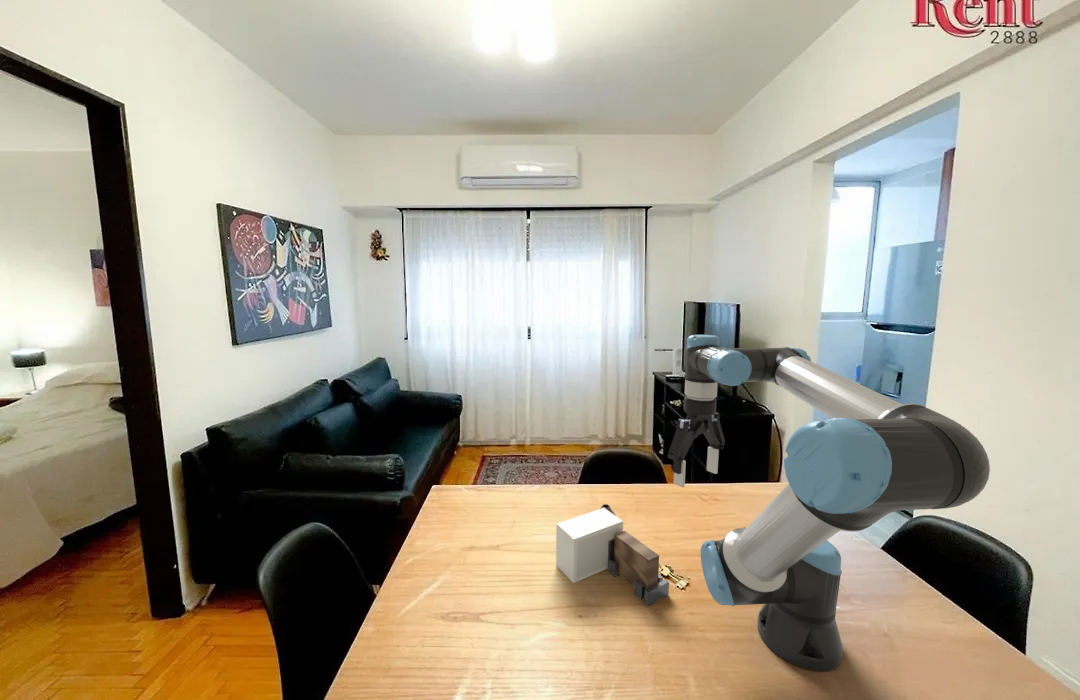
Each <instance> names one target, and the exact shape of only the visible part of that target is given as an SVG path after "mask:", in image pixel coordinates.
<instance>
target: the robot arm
mask: <svg viewBox="0 0 1080 700" xmlns="http://www.w3.org/2000/svg"><path fill="white" fill-rule="evenodd" d="M686 339H687V340H686V348H685V371H684V372H685V377H684V380H685V381H684V395H685V397H684V399H683V411H684V412H685V413H686V419H682V418H678V420H677V422H676V423H677V424H676V426H677V427H676V429H675V432H674V435H673V438H672V442H671V443H670V444H671V445H670V447H669V449H668V450H669V451H668V452H667V453H668V454H667V458H668V459H671V460H673V467H672V468H673V469H672V470H673V484H674V485H676V486H679V487H681V488H685V487H686V486H685V484H686V466H687V465H686V463H687V462H686V460H685V458H686V456H687V455H688V452H689V449H690V448H691V446H692V445H693V441H694V440H695V439H697V438H698V436H700V435H702V434H703V436H704V437H705V440H706V441H707V443H708V444H709V446H708V447H707V455H706V456H707V458H706V471H707V472H710V473H712V474H715V475H716V474H718V470H719V469H718V468H719V455H720V453H719V452H720V450H724V447H725V446H724V445H725V443H726V440H725V436H724V433H723V428H722V425H721V422H720V413H719V412H717V400H716V398H717V397H718V384H721V385H724V386H725V385H726V386H731V387H735V386H739V385H741V384H743V383H755V382H756V383H765V382H766V383H768V382H769V383H773V384H775V385H777V386H778V387H780V388H782V389H783V390H785V391H787V392H789V393H790V394H792V395H794V396H795V397H796V398H798V399H800V400H802V401H803V402H805V403H806V404H807V405H809V406H810V407H812V408H814V409H816V410H818V411H819V412H821V413H822V414H823V415H826V416H827V417H828V418H829V419H827V418H826V419H822V420H814V421H810V422H807V423H805V424H803V425H802V426H800V427H798V428H797V429H796V430H795V431H794V432H793V433H792V435H791V436H790V438H789V439H788V441H787V444H786V446H785V449H784V452H785V453H786V454H787V457H784V458H783V467H784V471H785V472H784V473H785V477H786V480H787V483H788V484H787V485H785V487H784V488H782V490H781V491H780V492H779V493H778V494H777V495H776V496H775V497H774V498H773V499H772V500H771V501H770V503H769V504H768V505H767V506H766V507H765V508H764V509H763V510H762V511H761V512H760V513H759V514H758V515H757V516H756V518H754V519H753V520H752V522H751V523H750V524H749V525H748V526H747V527H745V526H744V527H742V526H741V527H737V528H735V529H733V530H731V531H730V532H728V534H727V535H726V536H725V537H724V538H723V539H719V540H714V539H710V540H705V541H704V542H703V543H702V544H701V547H700V563H701V569H702V573H703V577H704V581H705V584H706V587H707V589H708V591H709V593H710V595H711V597H712V599H713V600H714V601H715V602H716V603H717V604H719V605H721V606H731V607H735V606H746V605H747V606H751V605H762V606H761V609H760V610H759V611H758V615H757V616H758V617H757V623H756V624H757V630H758V633H759V636H760V638H761V639H762V641H763V642H764V643H765V645H766V646H767V647H768V648H769V649H770V650H771V651H772V652H774V654H776V655H777V656H779V657H780V658H782V659H783V660H785V661H787V662H788V663H790V664H792V665H794V666H796V667H798V668H801V669H806V670H809V671H813V672H828V671H832V670H835V669H836V668H838V667H839V666H840V664H841V663H842V658H843V648H844V647H843V643H842V639H841V636H840V631H839V628H838V624H837V620H836V613H837V605H838V597H839V591H840V589H839V588H840V583H841V575H842V574H843V573H842V572H843V571H842V557H841V553H840V551H839V550H838V549H837V547H835V544H833V543H831V542H830V541H829V539H831V538H832V537H834V536H835V535H836V534H837V533H839V532H841V531H844V532H852V533H853V532H861V531H864V530H865V529H868V528H870V527H871V526H872V525H874V524H875V523H877V522H878V521H880V520H881V519H883V518H884V517H886V516H887V515H889V514H892V513H895V512H898V511H912V510H914V511H917V510H919V511H921V510H941V509H943V510H944V509H950V508H951V509H952V508H957V507H959V506H963V505H964V504H966V503H968V502H970V501H972V500H974V499H975V498H977V496H978V495H980V493H981V492H982V491H983V490H984V489H985V487H986V485H987V483H988V480H989V478H990V471H991V470H990V468H991V467H990V459H989V457H988V453H987V452H986V450H985V447H984V446H983V444H982V442H980V440H979V439H978V437H976V436H975V435H974V434H973V433H972V432H971V431H970V430H969V429H967V428H966V427H965V426H963V425H962V424H960V423H959V422H957V421H955V420H954V419H951V418H950V417H948V416H945V415H944V414H942V413H939V412H937V411H935V410H932V409H930V408H928V407H926V406H923V405H921V404H920V403H919V404H918V403H904V404H903V403H901V402H899V401H896V400H894V399H893V398H890V397H888V396H886V395H883V394H881V393H880V392H877V391H876V390H873V389H870V388H869V387H867V386H864V385H861V384H860V383H858V382H856V381H853V380H851V379H849V378H847V377H845V376H842V375H840V374H838V373H837V372H834V371H832V370H830V369H828V368H826V367H823V366H821V365H819V364H816V363H815V362H812V359H811V357H810V355H808V352H807V351H805V350H804V349H802V348H797V347H796V348H795V347H788V346H785V347H760V348H759V347H757V348H756V347H755V348H754V347H752V348H749V347H746V348H745V347H741V348H740V347H739V348H738V347H735V348H733V347H730V348H729V347H721V341H720V337H719V336H718V335H714V334H712V335H711V334H691V335H689V336H688V337H687V338H686Z"/></svg>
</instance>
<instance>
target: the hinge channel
mask: <svg viewBox="0 0 1080 700" xmlns="http://www.w3.org/2000/svg"><path fill="white" fill-rule="evenodd" d="M614 545H615V539H612V540H609V541H608V569H607V570H608V573H609V574H611V575H612V576H613V577H614V578H615V577H618V576H619V574H618V563H617V562H616V561H615V560H614ZM663 578H664V577H663V575H661V574H660V573H658V584H656V585H654V586H652V587H650V588H648V589H646V590H645V585H643V584H642V583H641V582H640V581H639V580H635V581H634V587H633V595H634V596H635V597H637V598H638V599H639V600H640V601H644V605H645V606H646V607H648V606H650V605H652V604H654V603H656V602H658V601H660V600H662V599H664V598H666V597H667V596H669V593H670V591H669V589H670V581H669V580H668V579H663ZM644 595H645V596H644Z"/></svg>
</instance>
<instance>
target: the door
mask: <svg viewBox="0 0 1080 700" xmlns="http://www.w3.org/2000/svg"><path fill="white" fill-rule="evenodd" d="M614 560H615V561H616V562H617V563H618V575H619V576H620V577H622V578H623V579H624V580H625V581H626V582H628V584H629V585H631V586H632V587H633V588H634V581H635V580H639V581H640V582H641V583H642V584H643V585H645V590H646V589H648V588H650V587H652V586H654V585H656V584H658V574H659V565H660V555H659V554H658V553H656V552H655V551H654V550H652V549H651V548H650V547H648V546H646V545H645V544H644V543H643V542H641V541H640V540H639V539H637V538H635V537H634V536H633V535H632V534H630V533H629V532H627V531H626V530H623V532H620V533H618V534H615V545H614ZM644 597H645V595H644Z"/></svg>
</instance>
